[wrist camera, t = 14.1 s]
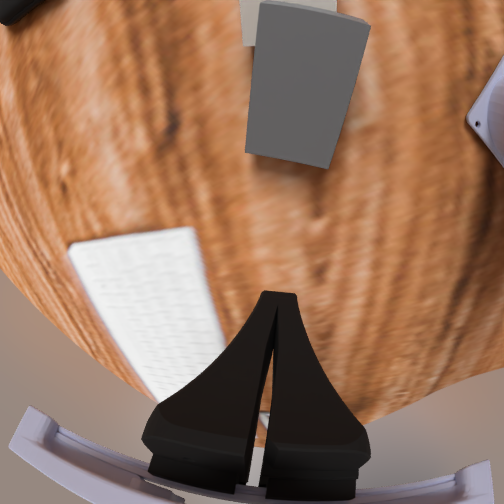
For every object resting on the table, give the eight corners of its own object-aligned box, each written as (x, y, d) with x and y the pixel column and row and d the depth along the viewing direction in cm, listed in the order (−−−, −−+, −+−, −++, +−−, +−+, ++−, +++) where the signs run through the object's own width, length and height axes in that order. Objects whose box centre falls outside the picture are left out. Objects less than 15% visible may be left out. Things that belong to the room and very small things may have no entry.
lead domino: (328, 169, 17) (371, 25, 9) (244, 152, 17) (259, 2, 9) (327, 147, 18) (362, 19, 11) (252, 132, 18) (267, -1, 11)
